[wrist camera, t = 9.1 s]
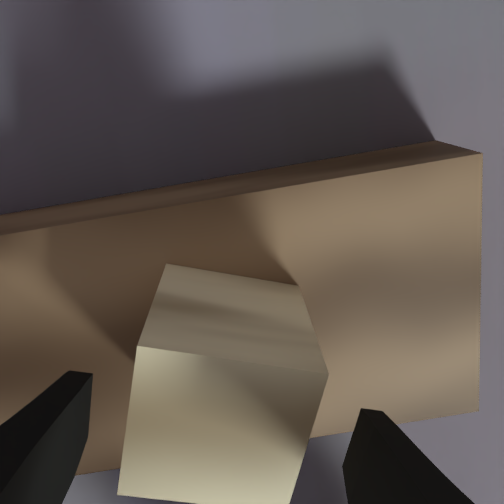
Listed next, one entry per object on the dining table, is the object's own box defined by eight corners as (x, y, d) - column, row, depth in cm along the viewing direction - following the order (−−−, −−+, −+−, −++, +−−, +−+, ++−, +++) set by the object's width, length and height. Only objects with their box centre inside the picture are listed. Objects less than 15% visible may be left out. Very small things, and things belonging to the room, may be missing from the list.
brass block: (435, 353, 21) (478, 411, 18) (61, 414, 22) (25, 483, 18) (429, 138, 18) (482, 153, 14) (-16, 215, 18) (-81, 249, 14)
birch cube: (270, 394, 17) (286, 513, 12) (149, 377, 16) (116, 494, 12) (298, 285, 15) (329, 374, 11) (166, 263, 15) (137, 345, 10)
